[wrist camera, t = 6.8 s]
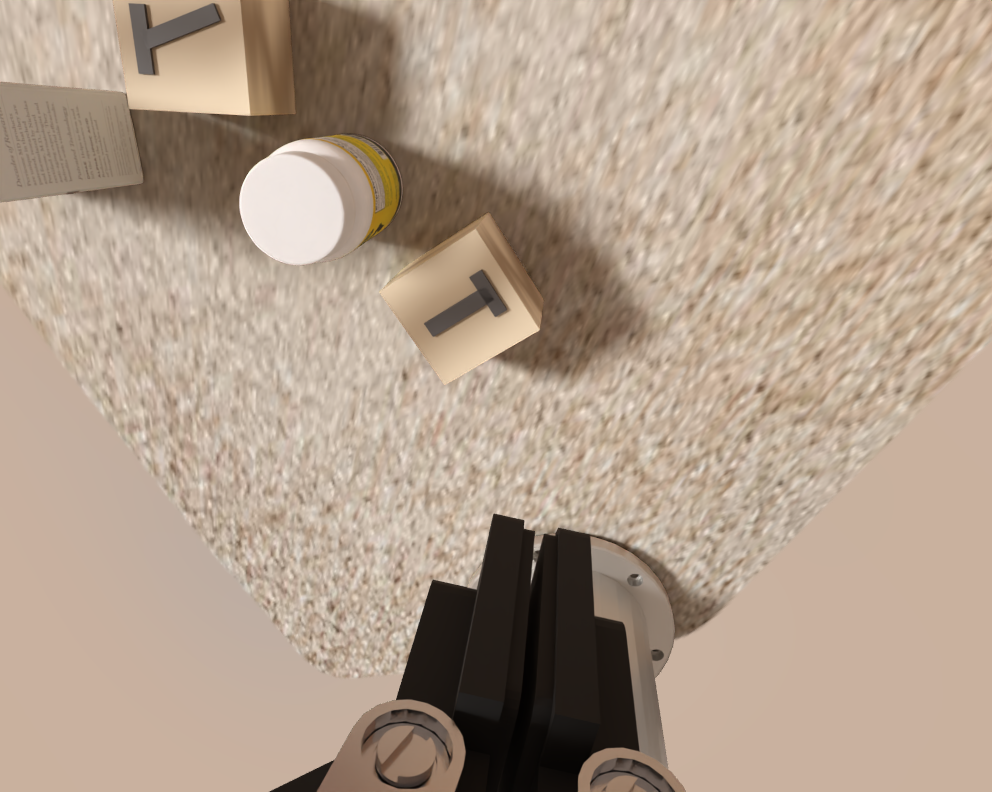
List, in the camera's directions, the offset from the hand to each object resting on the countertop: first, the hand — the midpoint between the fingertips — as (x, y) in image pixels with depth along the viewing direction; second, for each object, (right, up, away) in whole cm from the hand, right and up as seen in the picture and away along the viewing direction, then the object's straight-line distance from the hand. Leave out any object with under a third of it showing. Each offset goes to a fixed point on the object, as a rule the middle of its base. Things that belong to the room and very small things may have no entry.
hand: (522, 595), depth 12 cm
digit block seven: (-12, +19, +19) cm, 29 cm away
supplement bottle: (-7, +13, +21) cm, 26 cm away
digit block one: (-1, +9, +22) cm, 24 cm away
